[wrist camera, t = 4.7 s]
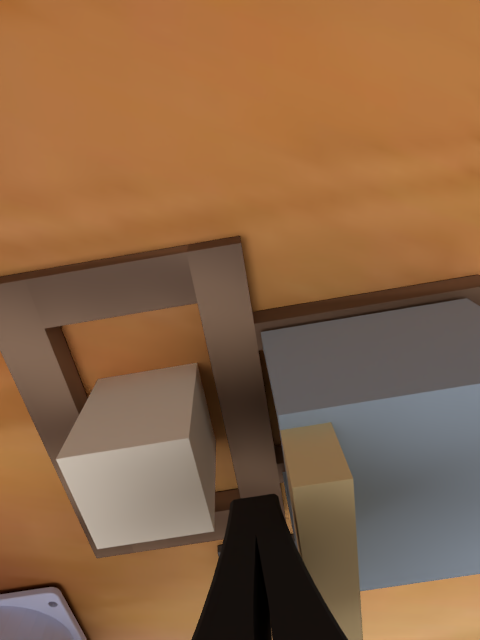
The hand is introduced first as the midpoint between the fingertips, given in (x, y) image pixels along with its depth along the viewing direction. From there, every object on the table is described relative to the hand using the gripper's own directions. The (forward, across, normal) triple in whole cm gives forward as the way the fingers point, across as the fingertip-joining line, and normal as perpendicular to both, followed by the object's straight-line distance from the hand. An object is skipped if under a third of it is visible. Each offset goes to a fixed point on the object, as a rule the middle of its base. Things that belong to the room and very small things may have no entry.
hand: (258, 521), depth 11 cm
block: (+8, +4, +1) cm, 9 cm away
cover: (+6, -5, +1) cm, 8 cm away
